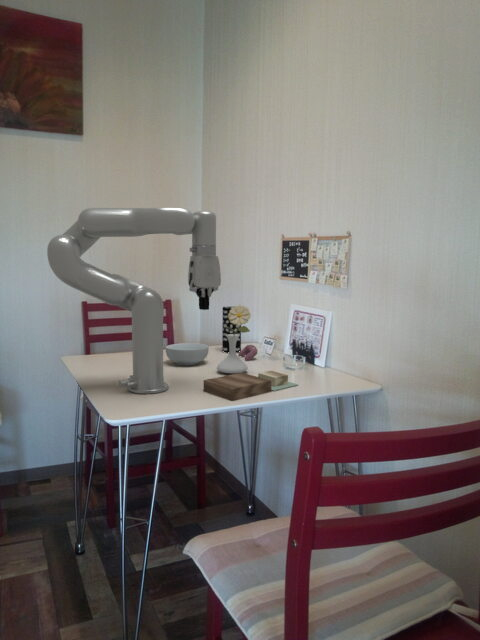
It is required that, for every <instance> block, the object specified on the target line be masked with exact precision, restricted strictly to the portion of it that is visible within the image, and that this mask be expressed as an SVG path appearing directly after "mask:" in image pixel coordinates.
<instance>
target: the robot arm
mask: <svg viewBox="0 0 480 640" xmlns="http://www.w3.org/2000/svg"><path fill="white" fill-rule="evenodd" d="M159 234H160V235H161V234H165V235H166V234H167V235H168V234H172V235H175V236H185V235H191V247H189V252H190V253H191V256H190V259H189V264H188V273H187V274H188V275H187V281H188V286H189V289H188V290H189V291H190V292H192V293H195V294H196V296H197V297H198V309H199V310H201V311H202V310H203V311H207V310H210V298H211V297H212V295H213V292H216V291H219V287H220V286H221V285H222V283H221V282H222V280H221V279H222V278H221V275H222V274H221V265H220V259H219V256H218V255H217V215H216V214H215V213H214V212H213V211H206V210H203V211H201V210H200V211H195V212H191V211H190V210H189V209H187V208H183V207H88V208H85V209H83V210H82V211H81V212H80V213H79V215H78V219H77V220H76V221H75V222H74V223H73V224H72V225H71V226H70V227H69V228H68V229H67V230H66V231H64V233H62V234H58V235H56V236H54V237H53V238H51V239H50V241H49V242H48V244H47V249H46V252H47V254H46V255H47V260H48V264H49V267H50V269H51V271H52V272H53V273H54V275H55V276H56V277H57V279H59V280H60V281H61V282H62V283H64V284H65V285H67V286H69V287H71V288H73V289H74V290H77V291H79V292H82V293H83V294H86V295H88V296H90V297H92V298H95V299H97V300H100V301H101V302H104V303H105V304H107V305H109V306H116V307H118V308H121V309H124V310H126V311H129V312H131V341H132V349H131V350H132V375H129V378H127V379H124V380H123V379H122V380H118V387H119V388H123V387H127V390H128V391H129V392H130V391H131V393H133V392H134V394H139V395H140V394H143V395H145V394H147V395H149V394H159V393H162V392H163V393H164V392H165V391H167V390H169V386H170V385H169V384H168V382H166V381H164V315H165V314H164V313H165V311H164V310H165V309H164V301H163V298H162V297H161V295H160V294H159V292H158V291H156V290H154V289H152V288H150V287H148V286H145V285H143V284H140V283H139V282H136V281H135V280H131V279H130V278H127V277H125V276H122V275H120V274H116V273H110V272H108V271H106V270H103V269H101V268H99V267H96V266H95V265H93V264H90V263H88V262H86V261H84V260H83V259H82V258H81V257H82V256H83V255H84V254H85V253H86V252H87V251H88V250H89V249H90V248H91V247H92V246H94V245H95V244H96V243H97V241H99V239H101V238H118V237H119V238H120V237H121V238H124V237H125V238H128V237H129V238H131V237H132V238H134V237H142V236H147V235H159Z"/></svg>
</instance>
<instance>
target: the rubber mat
mask: <svg viewBox="0 0 480 640" xmlns="http://www.w3.org/2000/svg"><path fill="white" fill-rule="evenodd" d="M297 386H299V384H297V383H293V382H290V381H288V384H285V385H281V386H276V387H274V386H271V392H274V393H275V392H278V391H282V390H287V389H290V388H294V387H297Z"/></svg>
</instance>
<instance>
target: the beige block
mask: <svg viewBox="0 0 480 640" xmlns="http://www.w3.org/2000/svg"><path fill="white" fill-rule="evenodd" d="M257 375H258V376H257V377H260V378H264V379H267V380H271V381H272V383H271V386H274V387H276V386H281V385H285V384H288V382H289V374H286V373H282V372H278V371H274V370H269V371H268V370H267V371H262V372H258V373H257Z"/></svg>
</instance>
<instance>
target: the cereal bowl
mask: <svg viewBox="0 0 480 640" xmlns="http://www.w3.org/2000/svg"><path fill="white" fill-rule="evenodd" d="M209 350H210V349H209V345H208V344H204V343H197V342H196V343H195V342H184V343H183V342H182V343H174V344H169V345H166V346H165V354H166V357H167V358H168V359H169V360H171V361H172V362H174V363H176V364H178V365H179V366H194V365H197V364H198V363H200V362H202V361H204V360H205V359H206V358H207V356H208V354H209Z"/></svg>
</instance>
